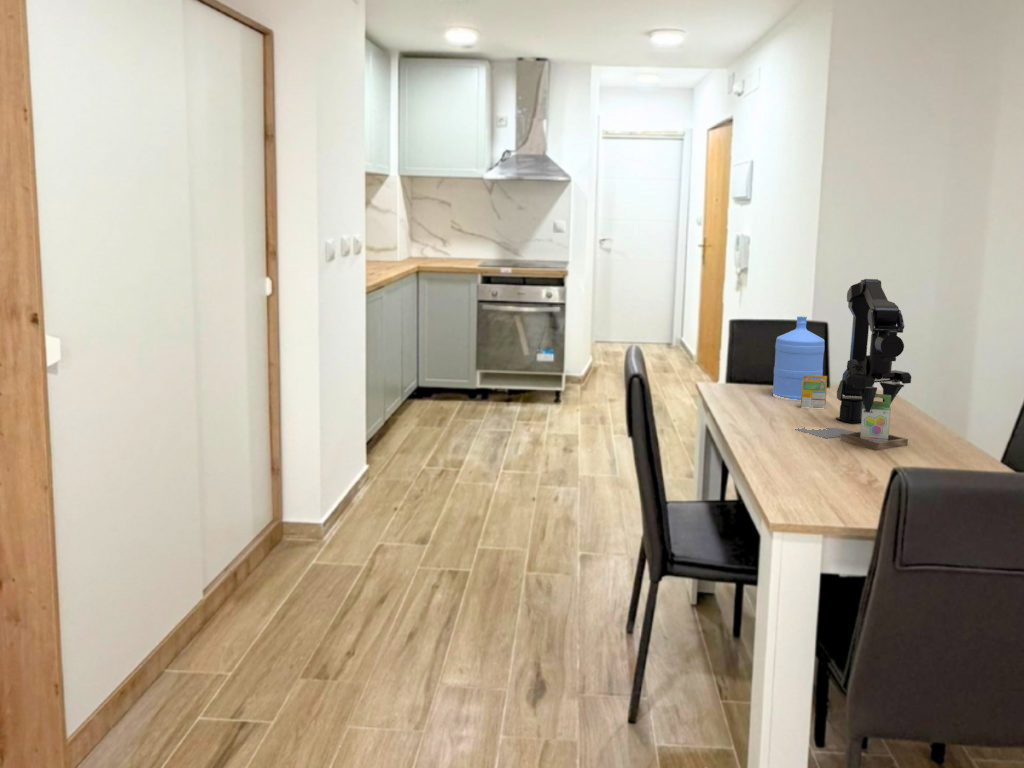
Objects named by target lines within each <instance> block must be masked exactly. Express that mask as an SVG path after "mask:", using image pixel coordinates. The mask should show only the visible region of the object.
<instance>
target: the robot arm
mask: <svg viewBox="0 0 1024 768" xmlns="http://www.w3.org/2000/svg"><path fill="white" fill-rule="evenodd" d="M846 301H847V303H848V304H847V305H848V309H849V311H850V314H851V315H852V327H851V341H850V353H849V360H847V363H846V370H844V371H843V373H842V377H841V378H842V379H841V380H840V381H839V384H838V386H837V390H836V399H837V400H839V401H840V402H841V403H840V405H839V416H838V417H835V419H836V420H838V421H841V422H846V423H850V424H855V423H861V422H862V409H863V406H864V407H865V411H867V412H870V410H871V407H872V404H873V401H875V398H876V397H875V394H877V390H878V387H876V386H874V385H875V383H879V384H880V386H881V389H882V394H884V395H891V403H890V405H891V404H892V403H893V401H894V399H895V398H896V397H897V395H898V393H899V392H900V391H901V389H902V388H904V387H905V384H906V385H907V384H912V375H911V373H910V372H908V371H902V370H896V369H895V370H892V368H893V362H896V361H897V357H899V356H900V355H901V354H902V353H903V351H904V348H905V343H904V341H903V339H902V338H901V337H900V336H898V333H900V334H901V333H904V328H905V323H904V316H903V314H902V311H901V310H900V308H899V306H898V304H896V303H895V302H892V301H890V300H888V297H887V296H886V294H885V291H884V289H883V287H882V281H881V280H880V279H878V278H864V279H861V280H860V282H857V283H855V284H852V285H850V287H849V288H848V289H847V293H846ZM869 329H870V332H871V334H870V335H871V336H870V347H869V355H867V353H868V342H869ZM884 401H885V400H884V399H882V402H884Z"/></svg>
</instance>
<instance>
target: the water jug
mask: <svg viewBox="0 0 1024 768" xmlns="http://www.w3.org/2000/svg"><path fill="white" fill-rule="evenodd" d="M796 318H797V319H796V327H795V329H792V330H789V332H786V333H784V334H781V335H778V336H777V337H776V341H775V345H774V346H775V347H774V348H775V352H774V353H775V354H774V355H775V356H774V367H773V386H772V387H773V388H772V393H773V394H775V395H777V396H780V397H784V398H789V399H797V400H801V397H802V380H803V376H804V375H816V376H824V375H823V374H824V373H823V372H824V369H823V368H824V353H825V350H826V349H825V348H826V347H825V346H826V345H825V339H824V338H822V337H821V336H819V335H817V334H815V333H813V332H812V331H810V330H808V329H807V324H808V323H807V318H808V317H807V316H797V317H796ZM810 379H814V380H820V378H817V377H810ZM772 393H771V394H772Z"/></svg>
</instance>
